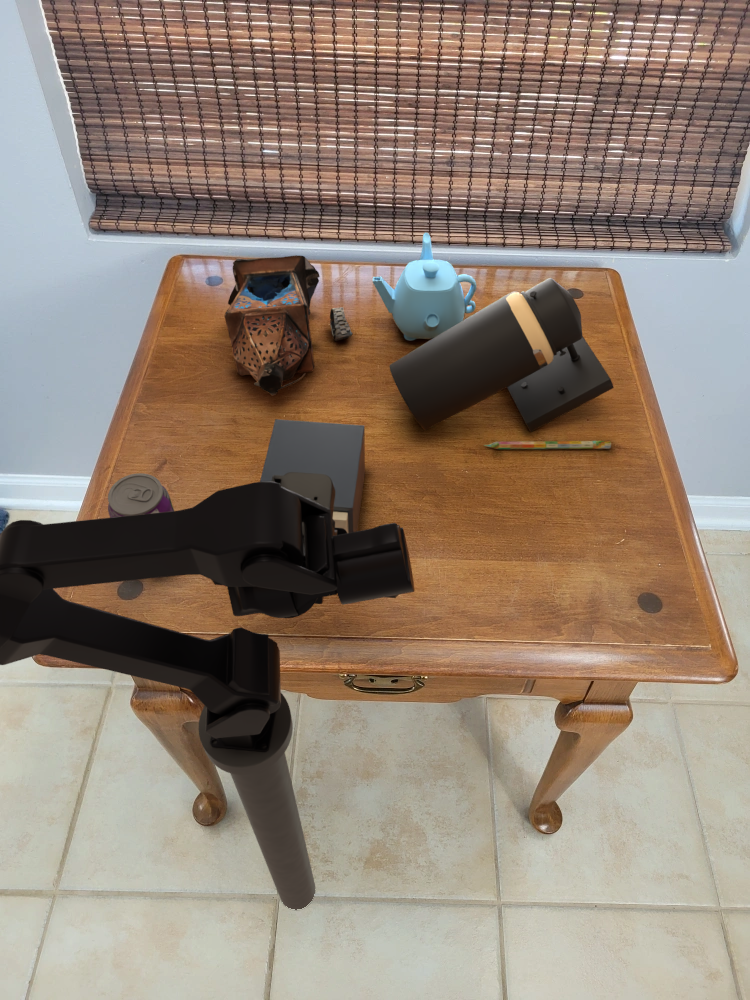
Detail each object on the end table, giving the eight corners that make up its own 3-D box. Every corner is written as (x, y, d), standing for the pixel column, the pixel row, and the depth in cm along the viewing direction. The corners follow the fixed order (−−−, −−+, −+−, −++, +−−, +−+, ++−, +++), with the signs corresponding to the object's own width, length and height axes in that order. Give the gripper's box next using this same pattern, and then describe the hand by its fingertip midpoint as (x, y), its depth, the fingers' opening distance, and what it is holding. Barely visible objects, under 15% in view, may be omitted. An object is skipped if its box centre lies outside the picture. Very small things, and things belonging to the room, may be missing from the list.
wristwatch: (330, 343, 125) (336, 338, 121) (327, 311, 125) (333, 305, 120) (349, 342, 126) (355, 337, 121) (346, 310, 126) (352, 304, 121)
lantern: (273, 343, 133) (274, 443, 116) (199, 284, 123) (189, 383, 106) (342, 285, 126) (354, 383, 109) (270, 218, 116) (271, 313, 99)
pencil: (483, 451, 109) (610, 450, 109) (484, 446, 108) (612, 445, 108) (482, 444, 109) (608, 444, 110) (483, 439, 109) (610, 438, 109)
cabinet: (354, 554, 97) (352, 507, 90) (263, 547, 98) (255, 500, 90) (364, 474, 106) (364, 425, 98) (281, 468, 106) (275, 418, 99)
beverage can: (192, 533, 99) (173, 472, 90) (177, 579, 95) (156, 520, 86) (138, 528, 100) (114, 467, 90) (121, 574, 95) (94, 515, 86)
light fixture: (379, 344, 109) (544, 247, 103) (428, 413, 122) (577, 330, 116) (403, 407, 101) (584, 305, 95) (453, 473, 114) (614, 387, 108)
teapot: (363, 321, 127) (362, 261, 118) (422, 287, 133) (426, 228, 124) (428, 367, 120) (433, 307, 111) (488, 330, 126) (497, 270, 117)
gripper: (407, 488, 66) (410, 475, 81) (193, 474, 67) (236, 464, 82) (398, 615, 67) (403, 578, 83) (189, 599, 68) (232, 566, 84)
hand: (319, 544), depth 83 cm, fingers closed
